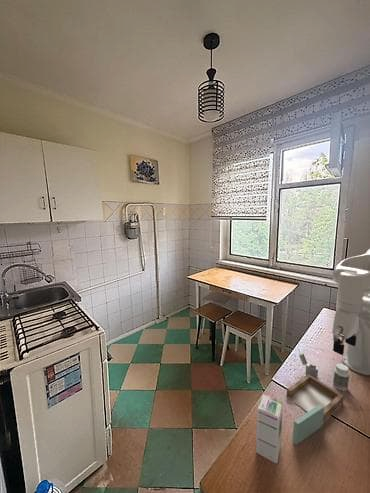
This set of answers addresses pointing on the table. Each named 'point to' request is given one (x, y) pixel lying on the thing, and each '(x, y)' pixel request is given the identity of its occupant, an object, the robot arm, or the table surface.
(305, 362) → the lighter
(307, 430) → the gate
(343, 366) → the pill bottle
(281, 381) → the table surface
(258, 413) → the syrup box
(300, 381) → the bay
